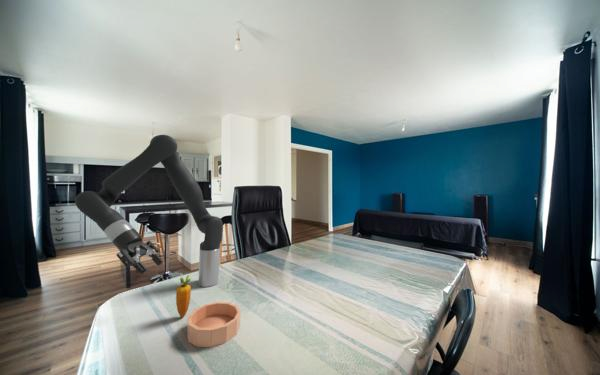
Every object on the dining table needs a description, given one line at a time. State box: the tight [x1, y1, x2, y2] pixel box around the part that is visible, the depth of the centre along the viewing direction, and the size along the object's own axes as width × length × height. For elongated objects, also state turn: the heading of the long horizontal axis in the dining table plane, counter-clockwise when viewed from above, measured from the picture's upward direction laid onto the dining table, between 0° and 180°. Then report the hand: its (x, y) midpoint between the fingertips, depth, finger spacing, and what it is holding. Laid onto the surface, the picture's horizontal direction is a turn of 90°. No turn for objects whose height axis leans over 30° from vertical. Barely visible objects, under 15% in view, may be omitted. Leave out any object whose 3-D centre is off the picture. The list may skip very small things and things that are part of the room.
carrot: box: [175, 275, 192, 318], centre depth 78 cm, size 5×5×15 cm
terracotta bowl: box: [186, 301, 242, 348], centre depth 72 cm, size 16×16×5 cm
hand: (153, 267), depth 78 cm, fingers open, 8 cm apart
